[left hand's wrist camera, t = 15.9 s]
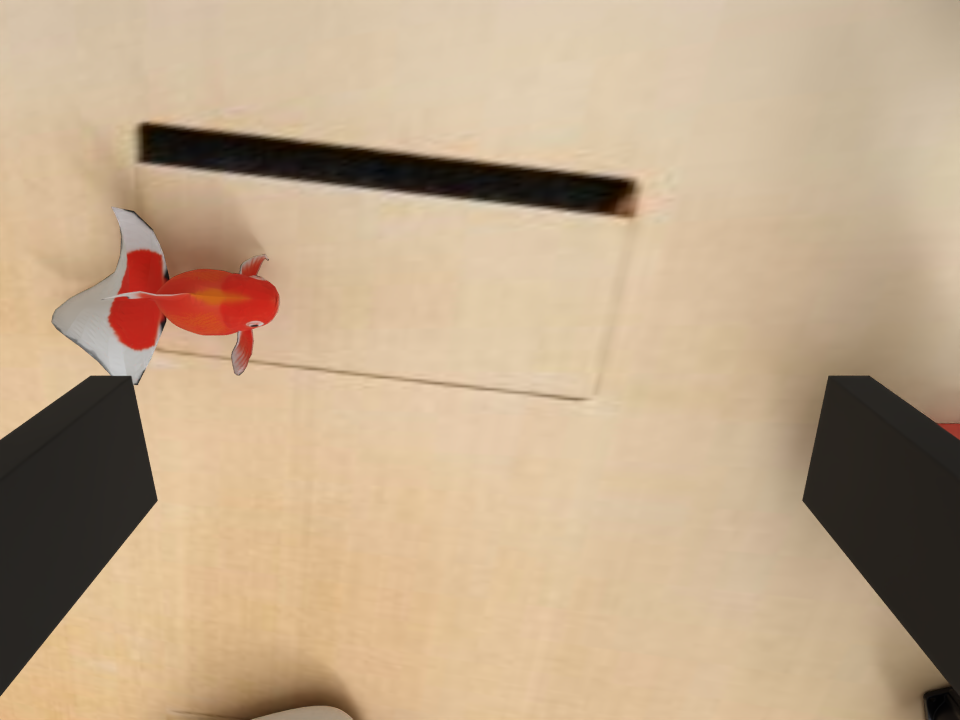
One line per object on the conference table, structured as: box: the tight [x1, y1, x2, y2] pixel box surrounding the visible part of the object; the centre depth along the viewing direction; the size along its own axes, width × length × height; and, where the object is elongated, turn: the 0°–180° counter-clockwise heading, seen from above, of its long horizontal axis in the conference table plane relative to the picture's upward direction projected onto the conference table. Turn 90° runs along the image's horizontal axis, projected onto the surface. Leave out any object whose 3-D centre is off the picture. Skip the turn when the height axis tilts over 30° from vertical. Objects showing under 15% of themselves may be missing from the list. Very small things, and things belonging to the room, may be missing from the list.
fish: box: [52, 207, 280, 385], centre depth 42 cm, size 11×16×10 cm
